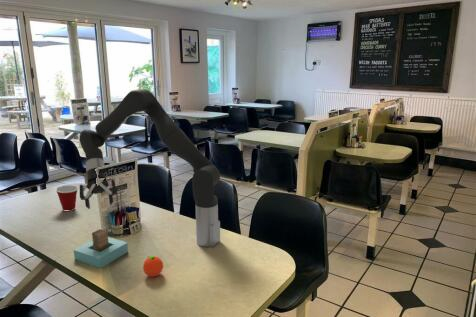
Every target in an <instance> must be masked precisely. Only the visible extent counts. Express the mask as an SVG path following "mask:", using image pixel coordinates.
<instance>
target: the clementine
mask: <svg viewBox="0 0 476 317" xmlns="http://www.w3.org/2000/svg"><path fill="white" fill-rule="evenodd" d="M142 266H143V267H142V269H143V272H144V274H145V275H146V276H148V277H151V278H152V277H153V278H154V277H156V276H159V275H160V274H161V273H162V271H163V268H164V263H163V260H162V259H161V257H158V256H156V255H152V254H150V255H148V256H147V258H146V259H145V260H144V262H143V265H142Z"/></svg>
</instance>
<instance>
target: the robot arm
mask: <svg viewBox="0 0 476 317" xmlns="http://www.w3.org/2000/svg"><path fill="white" fill-rule="evenodd" d="M143 112H144V113H145V114H146V115H147V116H148V117H149V118H150V120H151V121H152V123H153V124H154V126H155V128H156V132H157V135H158V137H159V139H160V140H161V143H163V144H164V146H165V147H166V148H167V149H168V150H169V151H170V153H172V154H174V155H175V156H177V157H178V158H180V159H182V160H183V161H185V162H186V163H188V164H189V165H190V166H191V167H192V169H194V172H193V174H192V178H191V180H192V183H191V184H192V196H193V200H194V202H195V230H196V232H195V234H196V236H195V237H196V244H197V245H198V246H200V247H206V248H208V247H211V248H214V247H215V246H216V245H217V244H219V243H220V242H221V221H220V220H219V206H218V205H219V202H218V201H219V199H218V196H216V195H215V187H214V186H216V185H217V184H218V183H220V180H221V173H220V171H219V168H217V167H216V166H215V164H214V163H212V162H211V160H210V159H208V158H207V157H206V156H205V155H204V154H203V153H202V152H201V151H200V150H199V149H198V148H197V146H196V145H195V144H194V143H193V142H192V140H191V139H190V138H189V137H188V136H187V134H186V133H185V132H184V130H182V129H181V128H180V126H178V124H177V123H176V122H175V121H174V120H173V118H172V117H171V116H170V115H169V114H168V113H167V111H165V109H164V108H163V106H162V105H161V103H160V102H159V100H158V99H157V97H156V96H155V95H154V93H152V91H150V90H148V89H146V88H137V89H132V90H130V91H129V92H128V93H127V94H126V95H125V96H124V98H123V99H122V100H121V101H120V102H119V103H118V105H116V107H115V108H114V109H113V110H112V111H111V112H110V113H109V114H107V115H106V117H104V118H103V119H101V120H100V121H99V122H98V123H97V124H96V125H95V127H94V129H95V130H92V129H89V128H85V129H83V130H81V132H80V134H79V137H78V138H79V143H80V146H81V148H82V150H83V154H84V155H85V162H86V163H85V170H86V178H87V179H86V180H87V183H86V184H84V185H83V184H79V198H80V200H81V201H84V204H85V207H86V208H87V209H91V205H90V198H92V196H93V195H97V194H103V193H104V194H107V195H108V199H109V201H108V202H109V206H113V204H114V196H115V195H118V191H117V188H116V182H115V180H114V179H112V180H111V181H110V180H109V181H108V179H107V175H106V176H105V174H104V173H101V174H99V175H98V177H99V178H105V179H104V180H103V182H102V183H99V185H98V186H97V184H96V178H97V174H96V171H95V169H96V168H98V167H102V166H105V167H106V165H105V162H104V155H103V151H102V149H101V147H103V146H104V144H105V143H106V141H107V140H108V138H109V137H110V136H111V135H112V134H114V133H115V132H117V130H118V129H119V128H121V126H122V125H123V124H124V123H123V122H125V121H126V119H127V118H129V117H131V116H132V115H135V114H136V113H143ZM108 186H110V187H112V190H110V189H109V188H108ZM86 190H88V191H87V192H86V194H85V193H84V192H85V191H86Z"/></svg>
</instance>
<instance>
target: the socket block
mask: <svg viewBox="0 0 476 317" xmlns="http://www.w3.org/2000/svg"><path fill="white" fill-rule="evenodd" d="M108 242H109V248H107V249H105V250H103V251H101V252H98V251H95V250H94V247H93V239H92V240H91V241H88V242H87V243H84V244H82V245H80V246H78V247H76V248H75V249H73V256H74V260H76V261H79V262H80V263H81V262H82V263H84V264H87V265H89V266H93V267H96V268H98V269H102V268H103V267H106V266H107V265H109V264H110V263H111V262H114V260H116V259H118V258H120V257H122V256H123V255H124V254H126V253H128V252H129V247H128V242H126V241H123V240H120V239H117V238H112V237H110V236H108Z"/></svg>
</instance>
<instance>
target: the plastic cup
mask: <svg viewBox="0 0 476 317" xmlns="http://www.w3.org/2000/svg"><path fill="white" fill-rule="evenodd" d="M78 190H79V187H78V186H77V185H71V184H69V185H67V184H65V185H61V186H58V187H56V188H55V191H56V193H57V196H58V200H59V203H60V205H61V208H62V210H72V209H74V208H75V209H76V202H77V193H78ZM75 209H74V210H75ZM72 211H73V210H72Z"/></svg>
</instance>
